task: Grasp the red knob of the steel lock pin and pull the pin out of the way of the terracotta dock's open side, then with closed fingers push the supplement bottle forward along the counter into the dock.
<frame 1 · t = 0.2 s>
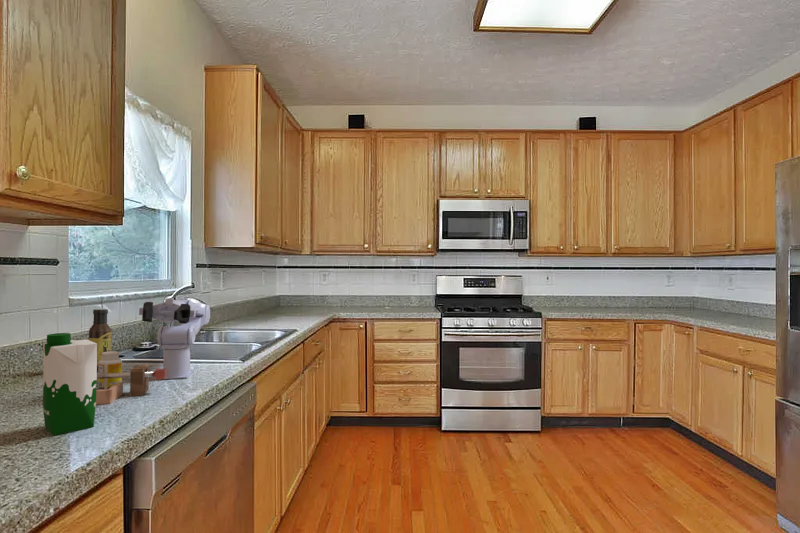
hand: (160, 314, 124), 21 cm above the countertop, tool horizontal, fingers open, 7 cm apart
lock pin: (132, 374, 123), point 5 cm above the countertop, slide at 0.0 cm
supplement bottle: (109, 390, 127), on the countertop
milk carton: (69, 428, 97), on the countertop
dock: (95, 399, 117), on the countertop
sauce bottle: (99, 370, 149), on the countertop
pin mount: (139, 393, 124), on the countertop
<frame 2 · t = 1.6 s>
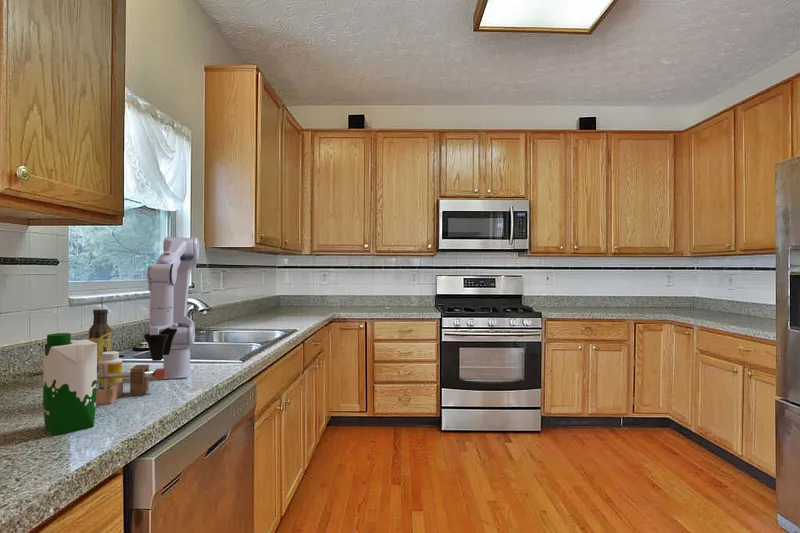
hand: (161, 357, 125), 9 cm above the countertop, tool pointing down, fingers open, 7 cm apart
nothing on the countertop moved.
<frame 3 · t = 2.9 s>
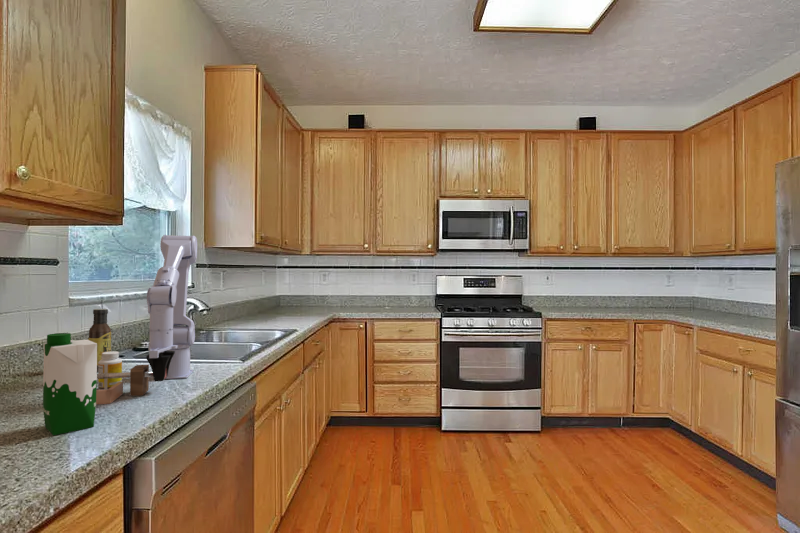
hand: (160, 379, 125), 3 cm above the countertop, tool pointing down, fingers closed on lock pin, 2 cm apart
lock pin: (132, 374, 123), point 5 cm above the countertop, slide at 0.0 cm, touching gripper
everything else where it was.
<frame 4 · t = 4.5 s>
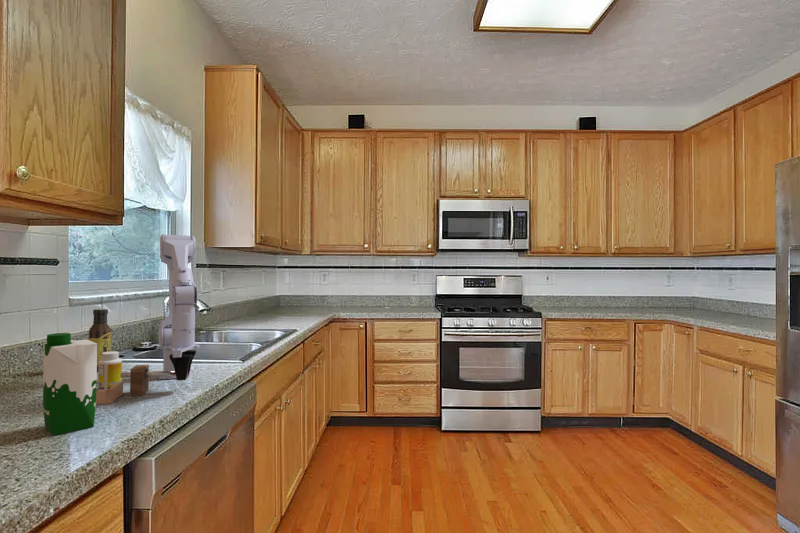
hand: (182, 378, 126), 3 cm above the countertop, tool pointing down, fingers closed on lock pin, 2 cm apart
lock pin: (154, 374, 125), point 5 cm above the countertop, slide at 5.5 cm, touching gripper
everything else where it was.
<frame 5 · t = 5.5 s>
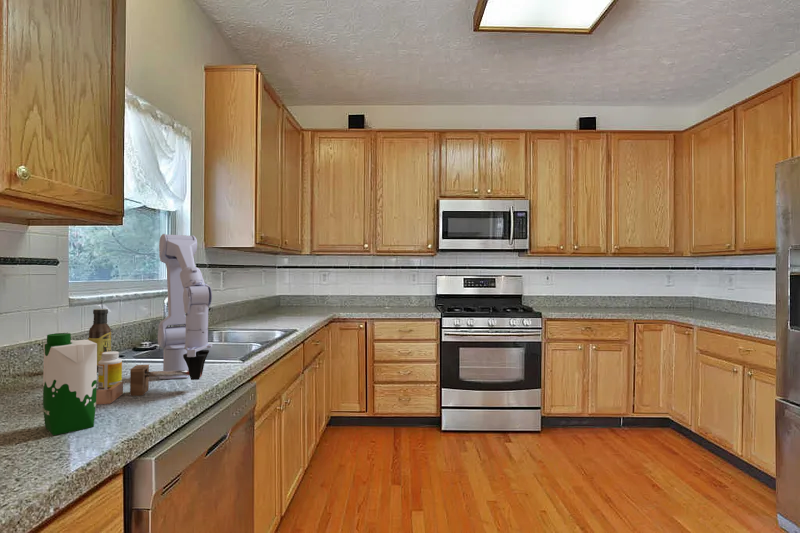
hand: (196, 378, 127), 3 cm above the countertop, tool pointing down, fingers closed on lock pin, 2 cm apart
lock pin: (168, 373, 125), point 5 cm above the countertop, slide at 8.9 cm, touching gripper
everything else where it was.
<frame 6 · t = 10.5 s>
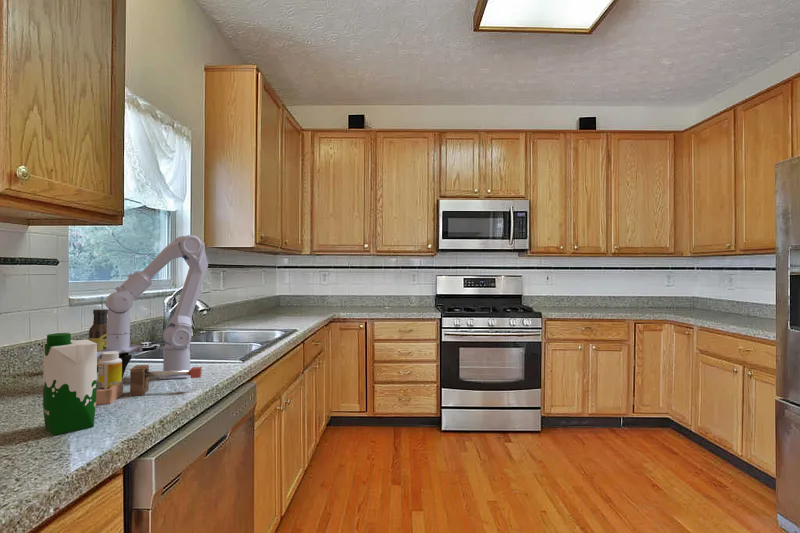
hand: (117, 380, 133), 1 cm above the countertop, tool pointing down, fingers closed
lock pin: (168, 373, 125), point 5 cm above the countertop, slide at 8.9 cm
supplement bottle: (109, 390, 127), on the countertop, touching gripper
everything else where it was.
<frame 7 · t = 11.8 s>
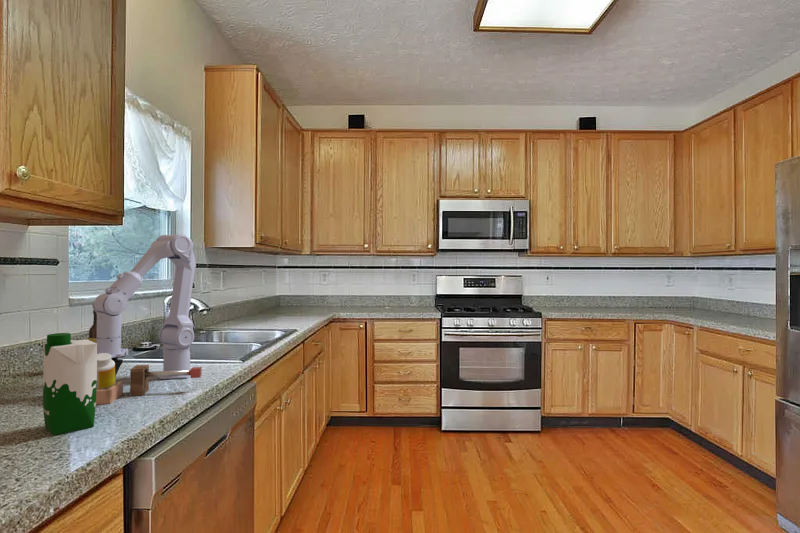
hand: (108, 386, 126), 1 cm above the countertop, tool pointing down, fingers closed
supplement bottle: (103, 391, 123), point 1 cm above the countertop, touching gripper
everything else where it was.
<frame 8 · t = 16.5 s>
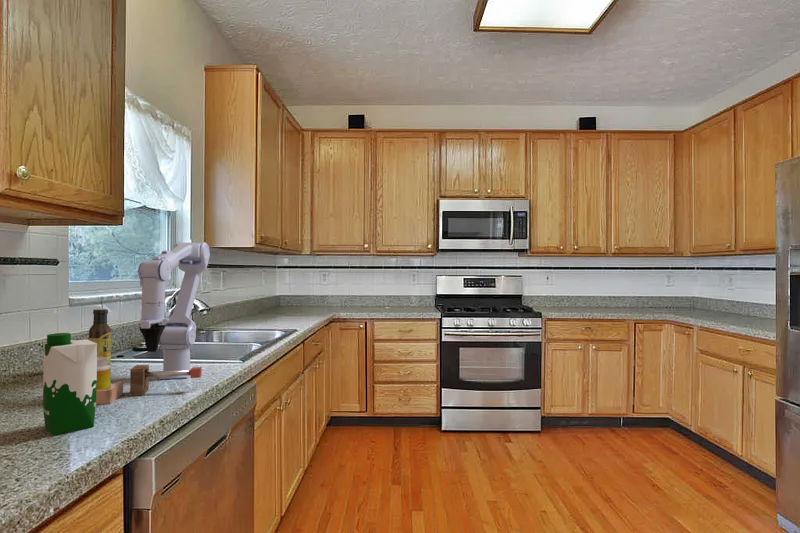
hand: (152, 351, 128), 10 cm above the countertop, tool pointing down, fingers closed
supplement bottle: (97, 398, 119), on the countertop
everything else where it was.
at the end: lock pin slide at 8.9 cm; supplement bottle 2.0 cm off-centre on the dock, point 0.0 cm above the dock's base; supplement bottle tilted 1° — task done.
